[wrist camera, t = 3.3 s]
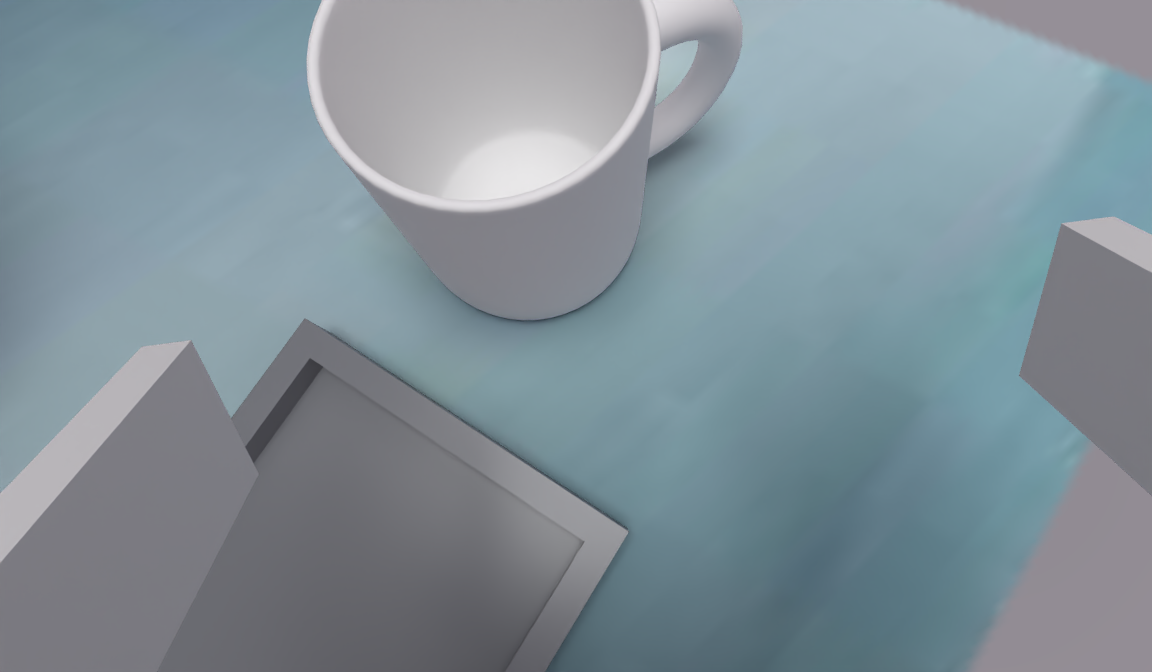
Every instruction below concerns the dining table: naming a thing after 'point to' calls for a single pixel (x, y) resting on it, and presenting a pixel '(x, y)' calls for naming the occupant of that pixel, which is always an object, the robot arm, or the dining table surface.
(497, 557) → the tray
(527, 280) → the mug
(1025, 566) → the dining table surface
